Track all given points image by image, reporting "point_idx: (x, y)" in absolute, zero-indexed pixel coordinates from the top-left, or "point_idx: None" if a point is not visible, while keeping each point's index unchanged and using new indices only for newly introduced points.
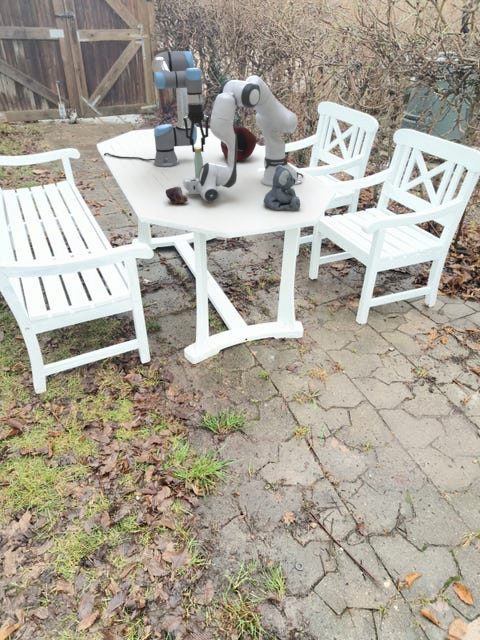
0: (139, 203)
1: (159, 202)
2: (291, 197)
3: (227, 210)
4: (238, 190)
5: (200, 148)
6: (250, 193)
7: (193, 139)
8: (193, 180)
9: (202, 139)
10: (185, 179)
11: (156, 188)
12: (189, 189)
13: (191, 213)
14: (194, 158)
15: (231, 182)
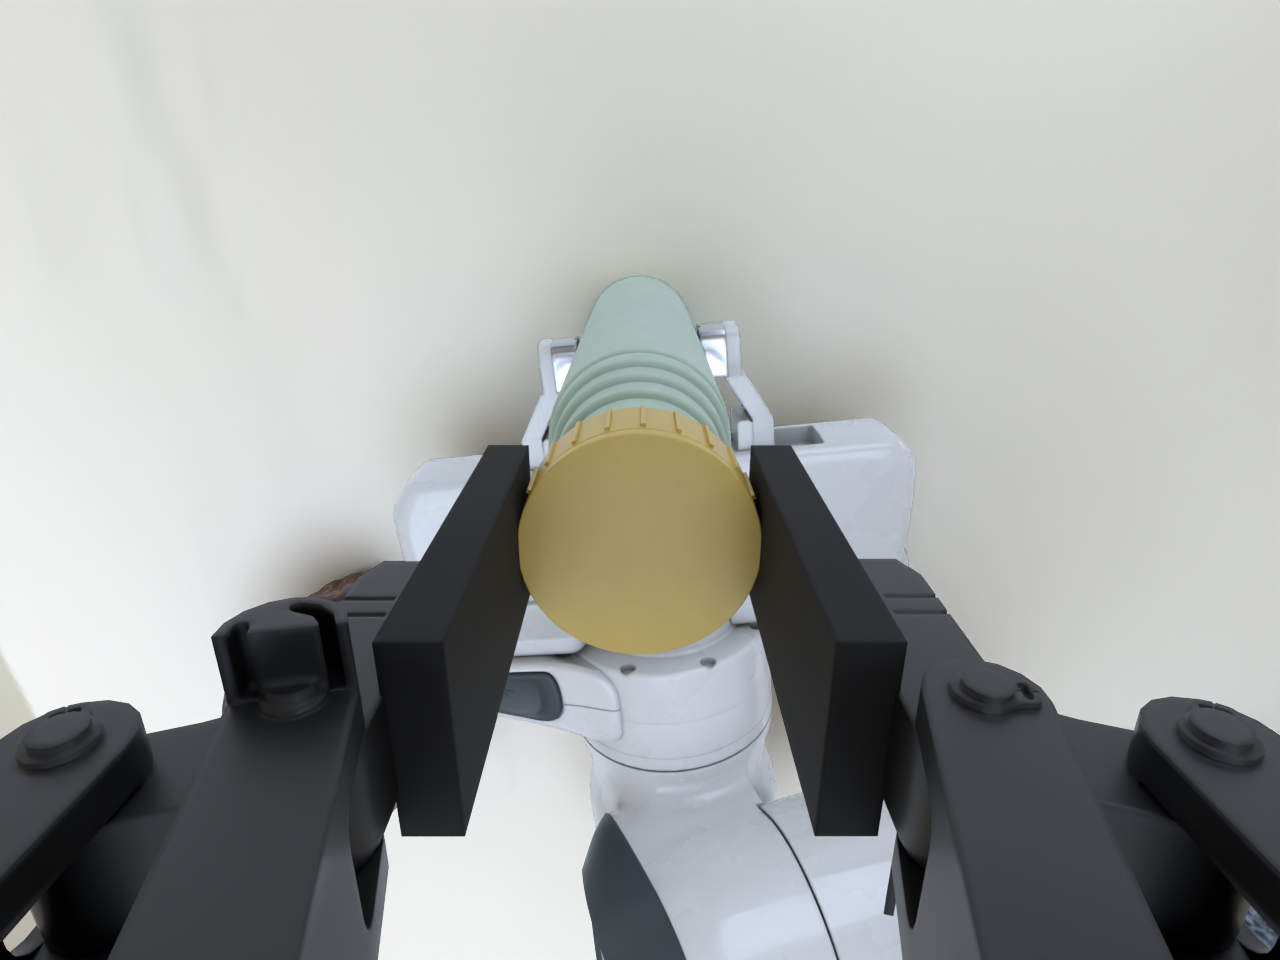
0: (4, 607)
1: (202, 618)
2: None
3: None
4: (1071, 436)
5: (713, 606)
6: (1153, 553)
7: (462, 832)
8: (527, 686)
9: (852, 820)
10: (426, 514)
11: (65, 137)
12: None
13: (506, 881)
14: (553, 431)
15: None
